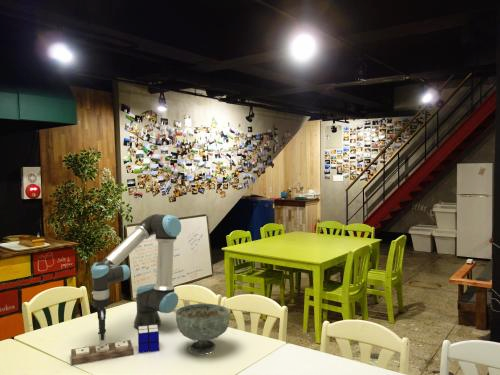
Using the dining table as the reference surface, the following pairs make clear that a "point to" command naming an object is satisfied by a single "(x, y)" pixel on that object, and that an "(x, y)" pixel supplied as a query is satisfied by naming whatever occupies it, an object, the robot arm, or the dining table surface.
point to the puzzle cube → (148, 338)
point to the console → (101, 354)
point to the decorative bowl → (202, 325)
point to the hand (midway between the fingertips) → (102, 345)
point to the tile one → (82, 351)
